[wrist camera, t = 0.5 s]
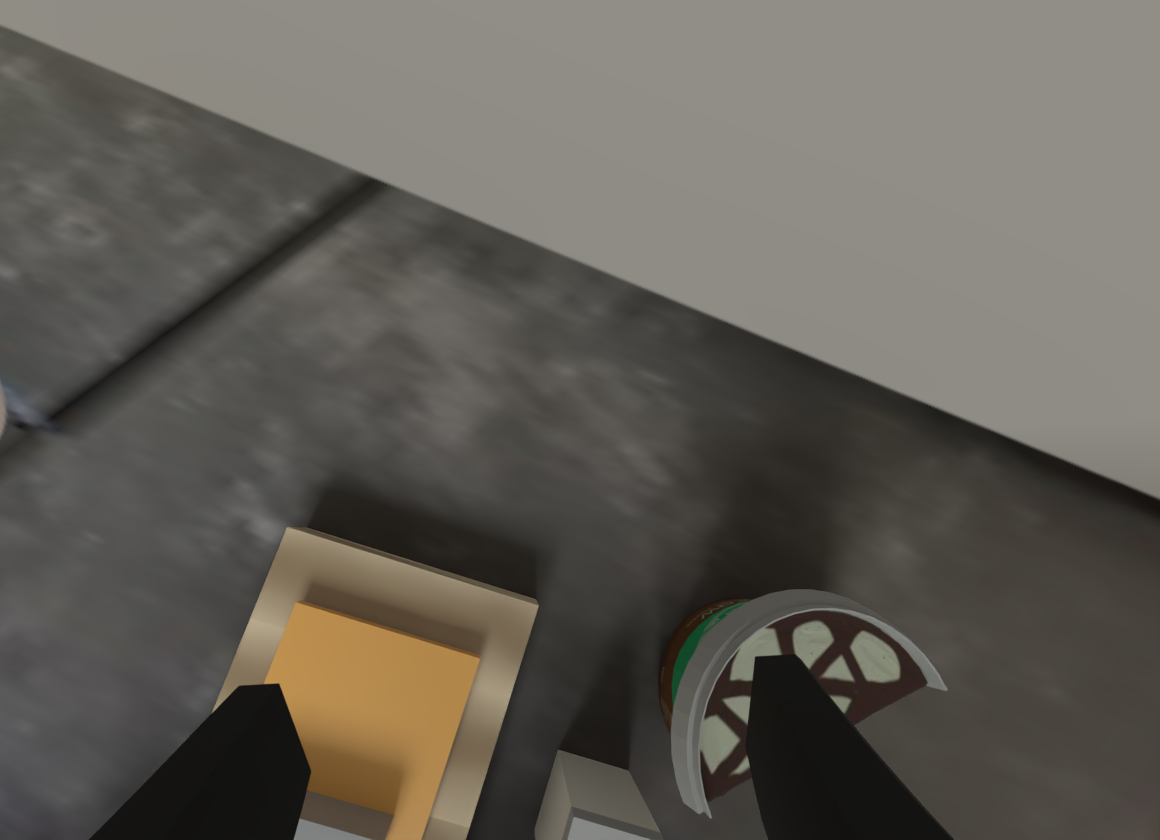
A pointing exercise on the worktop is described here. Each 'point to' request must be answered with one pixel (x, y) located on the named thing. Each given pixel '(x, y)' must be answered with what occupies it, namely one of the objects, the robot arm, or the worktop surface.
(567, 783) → the grey upright block
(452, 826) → the socket block
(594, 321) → the worktop surface
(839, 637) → the food container
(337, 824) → the shutter
